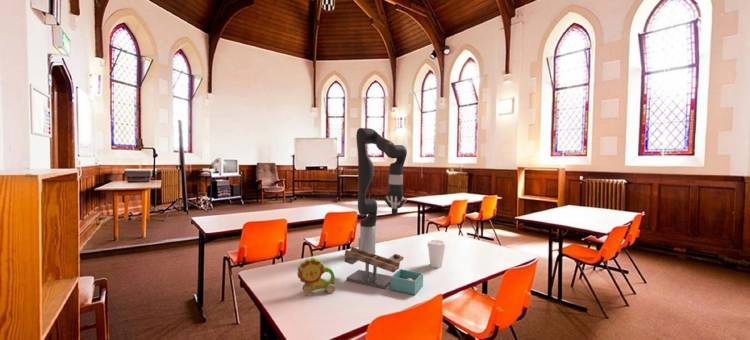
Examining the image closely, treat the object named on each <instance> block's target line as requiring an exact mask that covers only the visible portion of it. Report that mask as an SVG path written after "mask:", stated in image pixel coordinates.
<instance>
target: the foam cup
mask: <svg viewBox="0 0 750 340" xmlns="http://www.w3.org/2000/svg"><path fill="white" fill-rule="evenodd" d="M427 248H428V255H429V256H428V259H429V266H430V267H431V268H437V269H439V268H442V267H443V263H444V256H445V250H446V249H445V248H446V242H445V241H444V240H440V239H429V240H428V241H427Z"/></svg>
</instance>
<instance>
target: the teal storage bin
mask: <svg viewBox="0 0 750 340" xmlns="http://www.w3.org/2000/svg"><path fill="white" fill-rule="evenodd" d="M391 276H392V277H391V284H390V291H391V292H398V293H402V294H406V295H407V294H408V295H411V296H416V295H417V294H418V292H420V290H421V289H422V288H423V286H424V272H418V271H414V270H413V271H412V270H409V269H408V270H407V269H404V268H403V269H402V268H399V269H398V270H397V272H396V271H395V272H394V274H393V275H391ZM408 278H411V279H413V280H414V281H412V280H407V279H408Z"/></svg>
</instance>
